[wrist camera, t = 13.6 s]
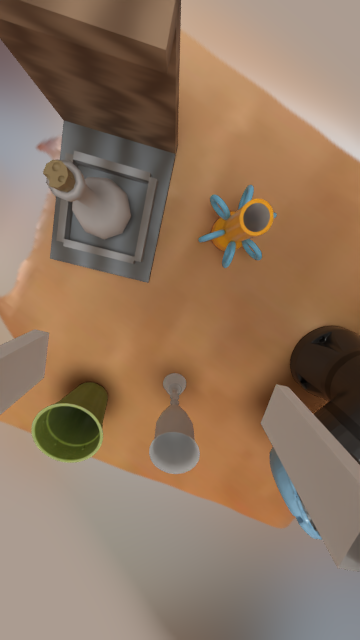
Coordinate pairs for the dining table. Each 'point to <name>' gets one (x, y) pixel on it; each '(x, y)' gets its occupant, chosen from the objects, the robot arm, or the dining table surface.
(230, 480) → the dining table surface
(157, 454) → the chalice
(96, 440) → the plant pot
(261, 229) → the orange ring-handled vase
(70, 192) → the potion bottle
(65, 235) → the ledge nook
